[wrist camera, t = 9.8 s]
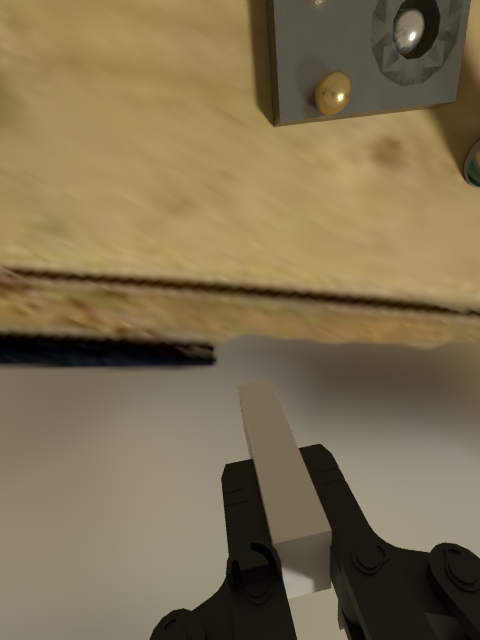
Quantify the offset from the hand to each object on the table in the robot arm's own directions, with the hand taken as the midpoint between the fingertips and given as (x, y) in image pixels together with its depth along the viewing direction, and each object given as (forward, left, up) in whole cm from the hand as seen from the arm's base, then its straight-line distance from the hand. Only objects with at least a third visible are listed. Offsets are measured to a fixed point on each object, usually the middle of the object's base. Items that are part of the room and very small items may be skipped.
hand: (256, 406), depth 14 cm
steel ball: (+21, +20, -23) cm, 37 cm away
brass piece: (+13, +16, -20) cm, 28 cm away
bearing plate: (+17, +20, -24) cm, 36 cm away
